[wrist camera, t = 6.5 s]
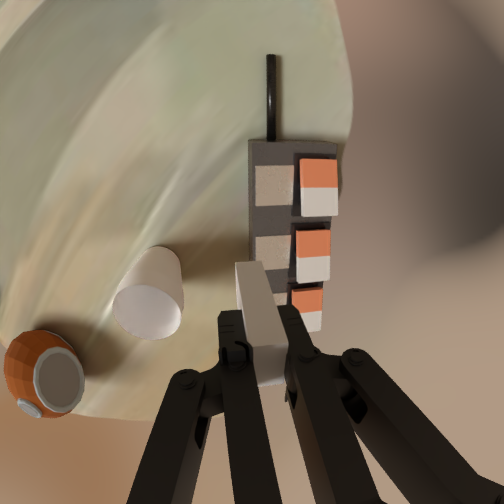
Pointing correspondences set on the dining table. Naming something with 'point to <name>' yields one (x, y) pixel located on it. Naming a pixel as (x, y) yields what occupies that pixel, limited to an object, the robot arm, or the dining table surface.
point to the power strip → (280, 199)
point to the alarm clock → (44, 374)
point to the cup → (151, 295)
